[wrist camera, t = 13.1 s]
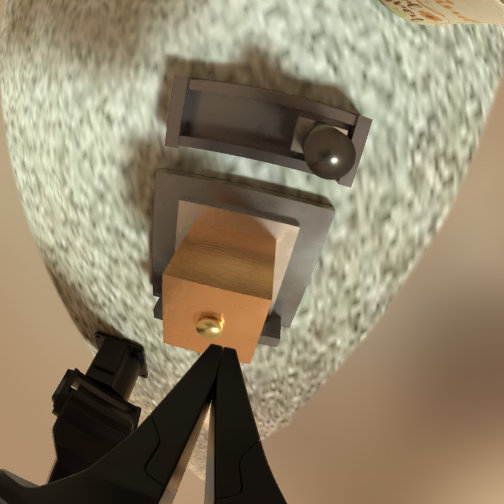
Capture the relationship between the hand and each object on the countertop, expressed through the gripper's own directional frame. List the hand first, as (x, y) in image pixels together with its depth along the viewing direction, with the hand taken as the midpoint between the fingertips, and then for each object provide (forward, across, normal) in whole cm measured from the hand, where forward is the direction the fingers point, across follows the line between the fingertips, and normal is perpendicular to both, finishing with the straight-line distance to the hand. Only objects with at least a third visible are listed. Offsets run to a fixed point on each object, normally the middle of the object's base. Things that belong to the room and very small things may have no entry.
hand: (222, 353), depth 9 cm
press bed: (+12, +1, +4) cm, 13 cm away
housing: (+11, +1, +4) cm, 12 cm away
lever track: (+12, 0, -6) cm, 13 cm away
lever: (+11, -2, -6) cm, 13 cm away
